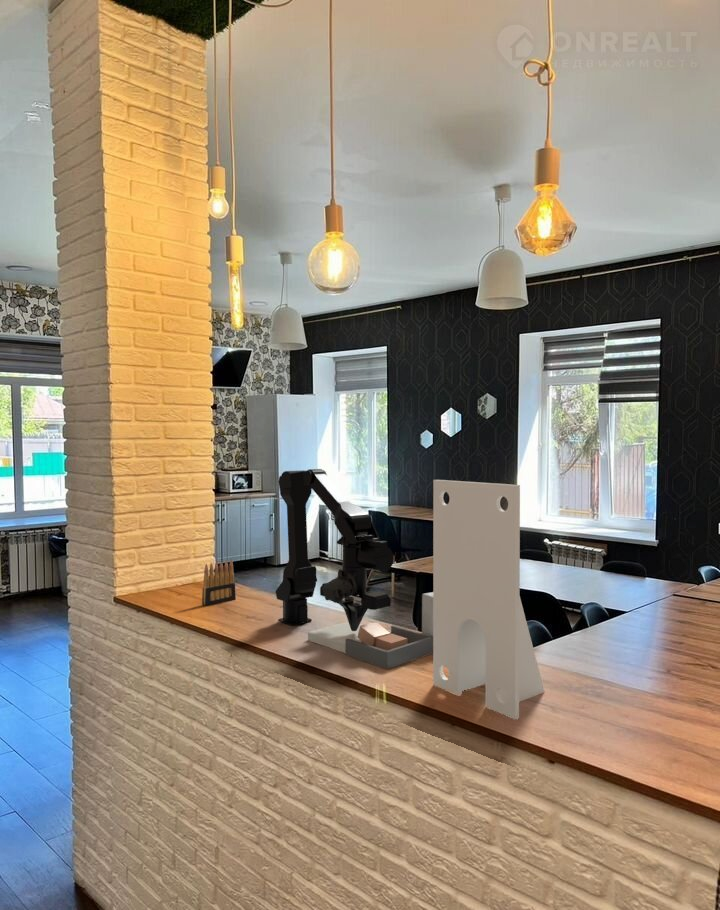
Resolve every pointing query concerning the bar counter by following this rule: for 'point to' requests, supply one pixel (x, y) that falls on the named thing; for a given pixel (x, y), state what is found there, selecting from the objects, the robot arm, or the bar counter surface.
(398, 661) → the tray
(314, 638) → the plate
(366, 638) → the tile rear
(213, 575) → the ammunition clip
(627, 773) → the bar counter surface
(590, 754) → the bar counter surface
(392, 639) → the tile front
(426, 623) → the skincare box
